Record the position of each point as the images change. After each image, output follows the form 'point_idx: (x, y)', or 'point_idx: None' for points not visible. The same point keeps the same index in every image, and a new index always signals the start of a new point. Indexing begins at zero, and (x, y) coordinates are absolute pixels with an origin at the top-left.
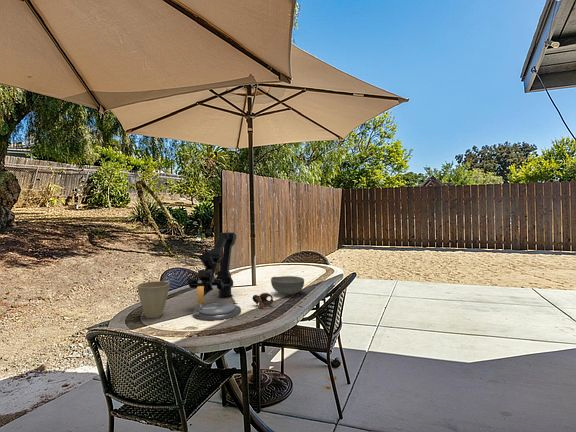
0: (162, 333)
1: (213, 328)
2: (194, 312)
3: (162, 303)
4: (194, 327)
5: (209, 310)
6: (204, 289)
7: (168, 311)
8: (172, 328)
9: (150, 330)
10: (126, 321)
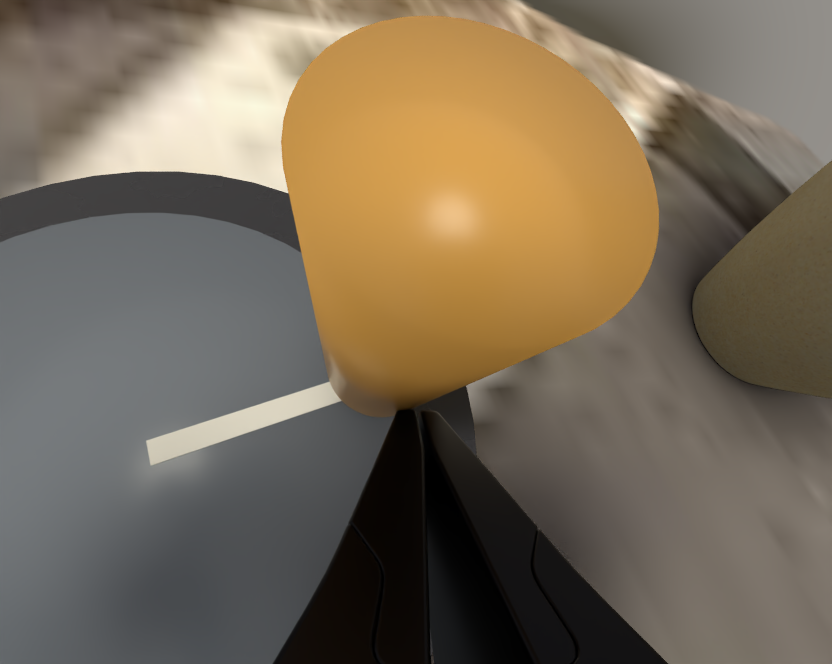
0: (477, 14)
1: (136, 32)
2: None
3: (798, 222)
4: None
5: (230, 312)
6: (370, 597)
7: (724, 462)
8: None
9: (571, 65)
10: None
